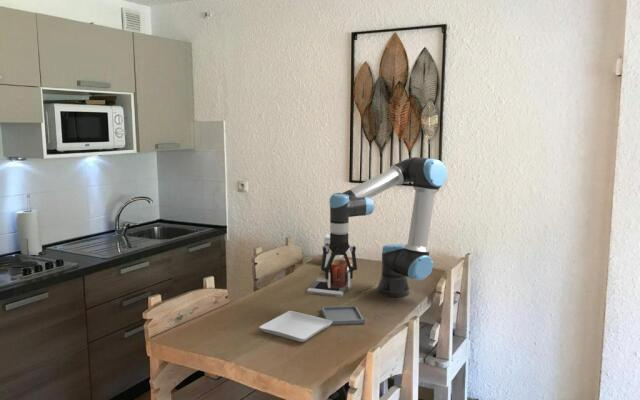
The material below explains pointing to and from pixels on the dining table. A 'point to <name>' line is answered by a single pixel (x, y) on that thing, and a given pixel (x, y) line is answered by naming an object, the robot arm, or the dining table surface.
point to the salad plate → (295, 326)
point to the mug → (338, 273)
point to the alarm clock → (326, 289)
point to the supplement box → (326, 243)
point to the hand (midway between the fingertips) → (338, 286)
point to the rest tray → (343, 315)
